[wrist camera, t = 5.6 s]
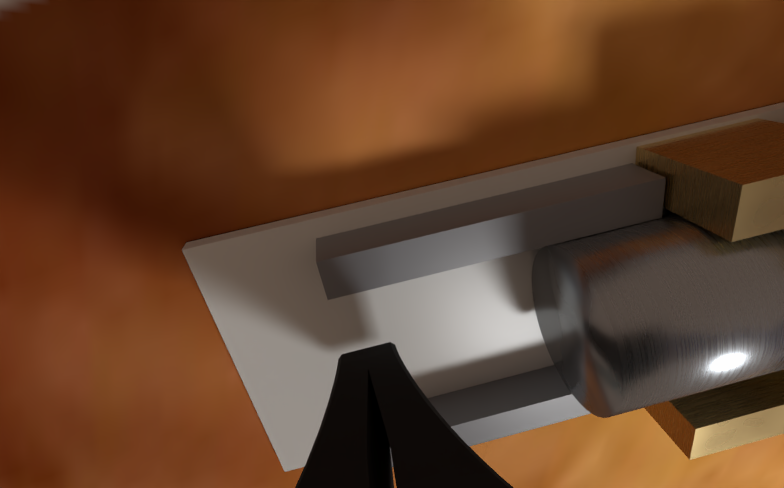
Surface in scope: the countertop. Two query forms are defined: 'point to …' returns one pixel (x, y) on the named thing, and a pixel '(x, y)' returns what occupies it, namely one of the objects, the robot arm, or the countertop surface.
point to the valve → (733, 222)
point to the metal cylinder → (659, 312)
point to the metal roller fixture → (423, 289)
